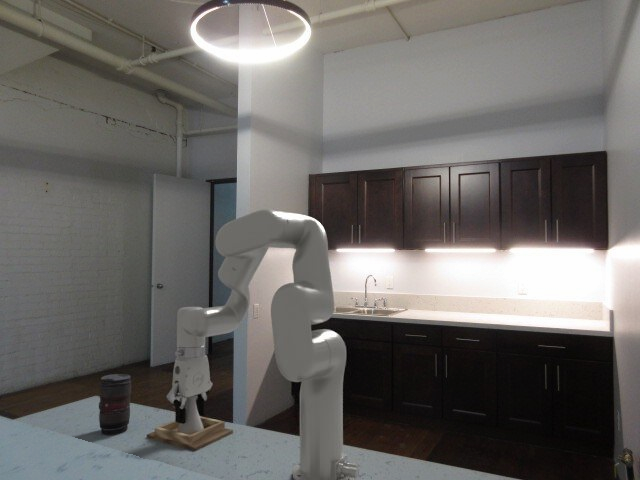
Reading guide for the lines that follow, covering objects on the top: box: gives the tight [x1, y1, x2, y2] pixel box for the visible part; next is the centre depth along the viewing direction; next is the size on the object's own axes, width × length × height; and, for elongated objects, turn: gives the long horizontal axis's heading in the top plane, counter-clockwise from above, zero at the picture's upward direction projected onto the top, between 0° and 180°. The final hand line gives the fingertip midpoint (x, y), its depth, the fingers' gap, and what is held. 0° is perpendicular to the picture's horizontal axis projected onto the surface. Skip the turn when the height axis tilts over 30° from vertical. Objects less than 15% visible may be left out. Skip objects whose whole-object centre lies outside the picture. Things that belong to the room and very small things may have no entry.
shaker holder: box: [146, 415, 234, 452], centre depth 125 cm, size 18×14×3 cm
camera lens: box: [98, 373, 132, 436], centre depth 129 cm, size 8×8×15 cm
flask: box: [177, 395, 204, 435], centre depth 125 cm, size 7×7×10 cm
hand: (190, 418), depth 125 cm, fingers open, 6 cm apart
